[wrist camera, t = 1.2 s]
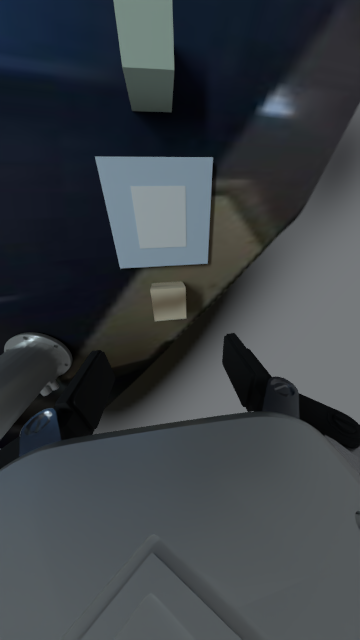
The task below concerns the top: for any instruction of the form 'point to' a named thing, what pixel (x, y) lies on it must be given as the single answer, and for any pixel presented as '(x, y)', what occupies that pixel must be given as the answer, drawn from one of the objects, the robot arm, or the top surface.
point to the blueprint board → (158, 208)
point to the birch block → (169, 300)
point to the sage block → (147, 52)
